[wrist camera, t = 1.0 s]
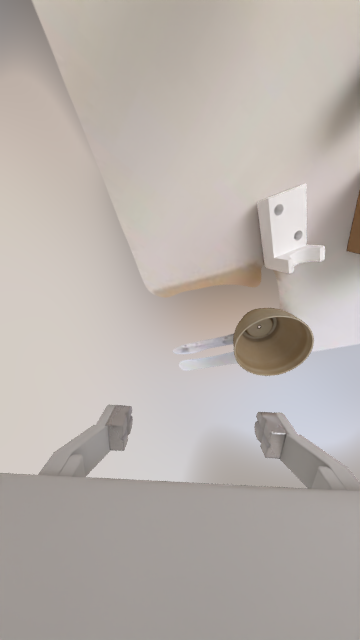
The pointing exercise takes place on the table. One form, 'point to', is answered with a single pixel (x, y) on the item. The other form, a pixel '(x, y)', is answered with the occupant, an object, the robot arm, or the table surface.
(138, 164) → the table surface
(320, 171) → the table surface
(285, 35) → the table surface
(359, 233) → the carton
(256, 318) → the planter bowl
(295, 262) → the bracket
